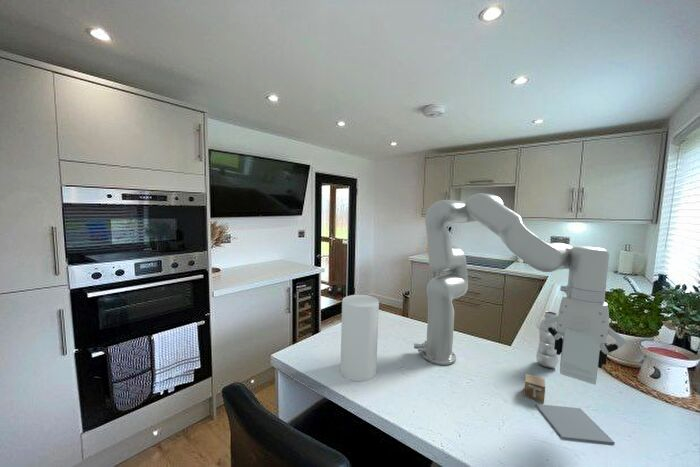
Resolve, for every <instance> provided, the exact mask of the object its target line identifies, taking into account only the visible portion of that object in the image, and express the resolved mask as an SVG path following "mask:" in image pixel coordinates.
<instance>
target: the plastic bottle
mask: <svg viewBox="0 0 700 467" xmlns="http://www.w3.org/2000/svg"><path fill="white" fill-rule="evenodd" d="M555 316H558V314H557V313H556V312H553V311H549V310H548V311H544V315H543V319H542V320H540V322H539V324H538V331H539V332H538V333H539V338H538V339H539V341H538V342H539V343H538V348H537V351H536V354H535V359H536V362H537V363H538V364H539V365H540V366H543V367H545V368H551V369H553V368H555V367H556V368H557V366H558V363H559V358H558V355H557V354H556V353H557V350H555V349H554V346H555V339H554V337H553V336H552V334H551V333H550V332H549V331H548V328H547V327H546V326H545V324H544V322H543V321H544V320H545V319H548V318H552V317H555ZM551 324H552V326H553V327H554V328H555V329H556V331H557V322H554V323H551ZM557 332H558V331H557Z"/></svg>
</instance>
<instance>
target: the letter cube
mask: <svg viewBox="0 0 700 467" xmlns="http://www.w3.org/2000/svg"><path fill="white" fill-rule="evenodd" d="M524 380H525V381H524V394H523V396H524V398H527V399H531V400H534V401H537V402H538V403H539V402H540V403H545V396H546V395H545V394H546V380H545V378H544V377H543V378H542V377H539V376H536V375H533V374H529V373H525V379H524Z"/></svg>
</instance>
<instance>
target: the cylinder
mask: <svg viewBox="0 0 700 467" xmlns="http://www.w3.org/2000/svg"><path fill="white" fill-rule="evenodd" d="M379 308H380V300H379V299H378V298H376V297H374V296H370V295H367V294H366V295H365V294H350V295H347V296H344V297H343V298H342V300H341V329H340V331H341V332H340V333H341V335H340V336H341V337H340V364H339V365H340V367H339V368H340V369H339V370H340V373H341V375H342V376H343V377H344V378H345V379H348V380H350V381H353V382H354V381H355V382H365V381H369V380H371V379H373V378H374V377H375V376H376V374H377V364H378V363H377V362H378V361H377V359H378V336H379V334H378V333H379V311H380V310H379Z"/></svg>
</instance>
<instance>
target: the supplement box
mask: <svg viewBox="0 0 700 467" xmlns="http://www.w3.org/2000/svg"><path fill="white" fill-rule="evenodd" d="M562 339H563V343H562V352H561V354H560V362H559V374H560V375H563V376H566V377H569V378H572V379H575V380H579V381H582V382H585V383H588V384H591V385H596V384H597V379H598V369H599V367H598V362H599V353H600V344H599V343H596V338H595V337H594V336H593V335H592V334H589V333H585V332H582V331H577V330H574V329H570V328H565V332H564V335H563V336H562Z"/></svg>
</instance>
